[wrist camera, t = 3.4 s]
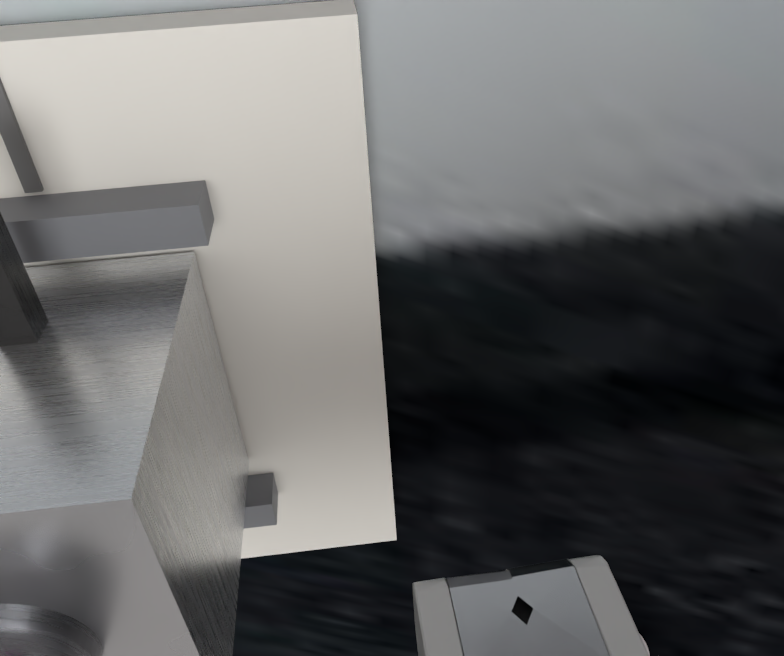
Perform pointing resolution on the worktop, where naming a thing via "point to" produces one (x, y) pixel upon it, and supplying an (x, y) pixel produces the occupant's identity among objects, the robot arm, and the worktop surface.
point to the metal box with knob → (116, 461)
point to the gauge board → (227, 224)
